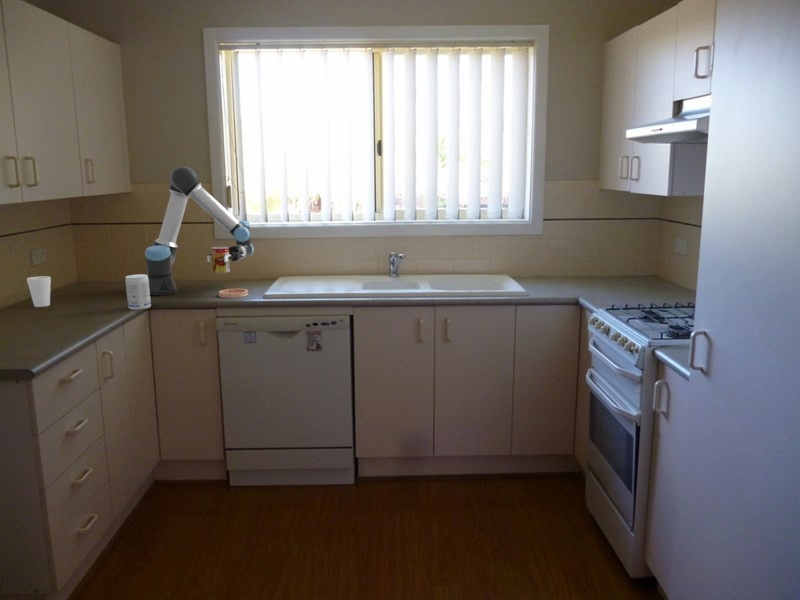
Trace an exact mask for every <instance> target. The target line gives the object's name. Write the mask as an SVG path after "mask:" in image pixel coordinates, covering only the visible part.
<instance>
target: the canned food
mask: <svg viewBox="0 0 800 600" xmlns="http://www.w3.org/2000/svg"><path fill="white" fill-rule="evenodd" d="M228 248H229V246H214V247H211V254H212V258H213V261H212V268H213V269H212V270H213V273H214V274H225V273H230V272H231V269H230V261H227V262H224V256H226V255H229V249H228Z"/></svg>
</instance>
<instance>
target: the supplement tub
mask: <svg viewBox="0 0 800 600" xmlns="http://www.w3.org/2000/svg"><path fill="white" fill-rule="evenodd" d="M124 278H125V288H126V290H125V291H126V298H127V306H128V307H127V308H128V309H129V310H133V311H139V310H140V311H141V310H145V309H150V308H151V306H152V302H151V301H152V300H151V296H150V290H149V281H148V276H147V274H144V273H140V274H138V273H137V274H131V275H126V276H125V277H124Z"/></svg>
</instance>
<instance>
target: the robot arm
mask: <svg viewBox="0 0 800 600" xmlns="http://www.w3.org/2000/svg"><path fill="white" fill-rule="evenodd" d="M169 178H170V185H169V188H168V190H169V192H170V196H169V200H168V203H167V207H166V210H165V214H164V217H163V221H162V224H161V225H162V226H161V229H160V232H159V234H158V235H159V236H158V238H157V239H154V242H153V245H152V246H148V247H147V248H146V249H145V252H144V255H145V262H146V272H147V273H146V275H147V276H148V281H149V290H150V295H156V297H157V295H160V296H168V295H169V296H170V295H173V293H174V294H177V293H178V287H177V285H176V283H175V281H174V279H173V271H172V270H173V269H172V266H173V264H174V263H175V261H176V258H177V257H176V254H177V250H178V247H179V246H178V245H177V239H178V235H179V232H180V229H181V224H182V221H183V218H184V215H185V210H186V207H187V203H188V200H189V199H190V198H191V199H192V200H193V201H194V202H195V203H196V204H197V205H198V206H200V207H201V208H202V209H203V210H204V211H206V213H207V214H209V216H211V217H212V218H213V219H214V220H215V221H216V222H217V223H218V224H220V225H221V227H223V228H224V229H225V230H226V231H227V232H228V233H229V234H230V235H232V237H233V238H234V240H235V244H236V245H232V246H230V247H228V249H229V255H226V256H224V262H227V261H229V262H230V261H231V262H236V261H239V262H240V261H241V260H242V259H245V258H246V259H247V258H248V257H251V256H252V255H253V253H254V251H255V247H254V246H253V244H251V229H250V227H251V225H250V222H249V221H248V220H238V219H237V218H236V217H235V216H234V215H233V214H232V213H231V212H230V211H228V209H227V208H226V207H224V205H222V204H221V203H220V202H219V201H218V200H217V199H216V198H214V196H213V195H211V194H210V193H209V192H208V191H207V190H206V189H205V188H204V187H203V186H202V183H201V182H200V181H199V179H198V175H197V173H196V171H195V170H193V169H192V168H191V167H188V166H178V167H175V168H173V170H172V171H171V173H170V177H169ZM206 259H207V262H208V263H210V262H213V258H212V253H208V255H207V258H206Z"/></svg>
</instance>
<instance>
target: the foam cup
mask: <svg viewBox="0 0 800 600" xmlns="http://www.w3.org/2000/svg"><path fill="white" fill-rule="evenodd" d="M51 282H52V277H51V276H47V275H42V276H41V275H40V276H30V277H27V278H26V283H27V285H28V288H29V292H30V296H31V300H32V303H33V306H34V307H35V308H41V307H43V308H44V307H48V306H51Z"/></svg>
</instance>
